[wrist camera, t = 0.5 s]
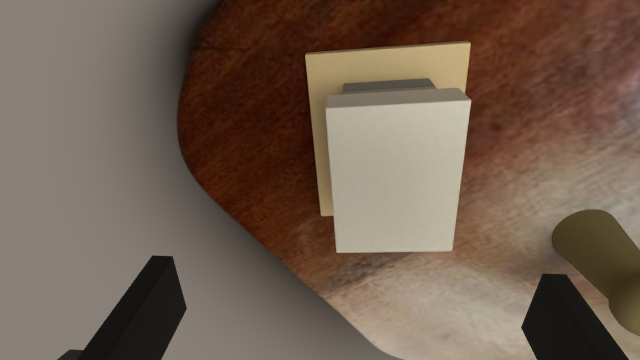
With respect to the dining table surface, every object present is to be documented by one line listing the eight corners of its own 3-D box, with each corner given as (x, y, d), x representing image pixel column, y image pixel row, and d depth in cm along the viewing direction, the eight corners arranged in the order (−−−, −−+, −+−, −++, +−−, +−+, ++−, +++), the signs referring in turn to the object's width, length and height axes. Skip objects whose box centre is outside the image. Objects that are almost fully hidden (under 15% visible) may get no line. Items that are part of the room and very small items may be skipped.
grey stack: (306, 52, 30) (296, 68, 24) (467, 40, 28) (493, 54, 23) (321, 210, 37) (316, 248, 32) (448, 207, 36) (465, 246, 31)
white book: (327, 95, 25) (325, 108, 23) (458, 87, 24) (471, 100, 22) (337, 230, 31) (336, 253, 28) (443, 228, 30) (452, 251, 27)
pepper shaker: (539, 234, 37) (606, 323, 27) (597, 198, 34) (692, 283, 25) (572, 265, 38) (645, 359, 29) (628, 233, 36) (729, 325, 26)
